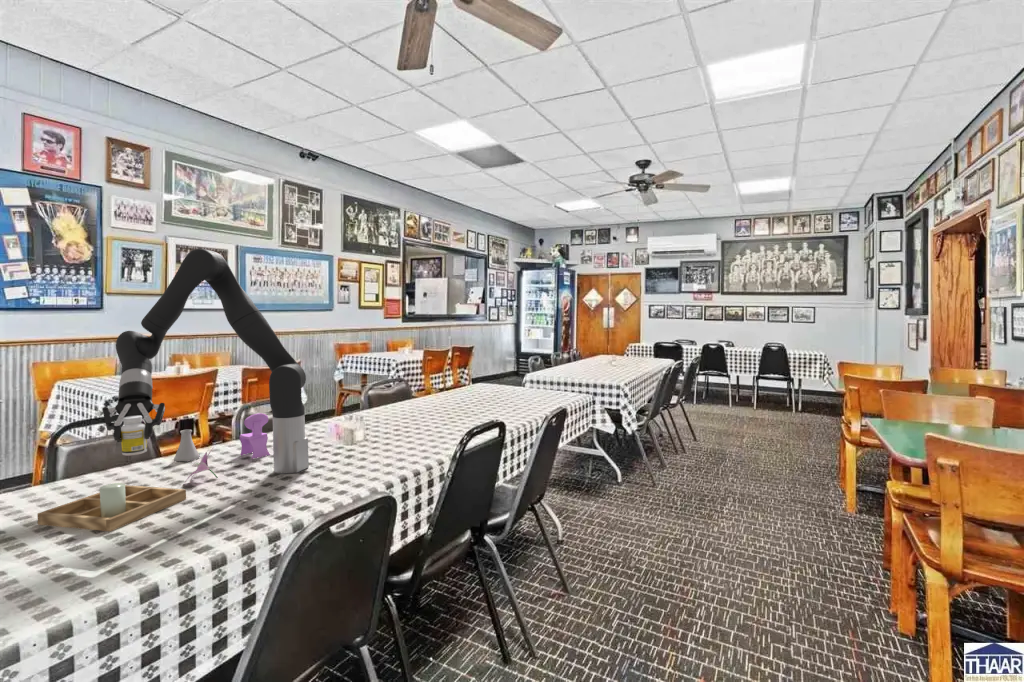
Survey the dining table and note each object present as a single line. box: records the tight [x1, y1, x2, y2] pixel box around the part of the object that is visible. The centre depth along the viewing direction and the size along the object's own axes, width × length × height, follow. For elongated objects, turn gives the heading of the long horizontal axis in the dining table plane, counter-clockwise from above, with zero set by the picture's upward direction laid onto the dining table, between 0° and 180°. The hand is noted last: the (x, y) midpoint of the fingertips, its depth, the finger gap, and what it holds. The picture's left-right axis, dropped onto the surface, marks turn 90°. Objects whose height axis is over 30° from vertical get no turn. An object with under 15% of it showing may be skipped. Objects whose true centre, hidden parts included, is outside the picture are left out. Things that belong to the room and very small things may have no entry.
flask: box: [173, 429, 201, 462], centre depth 168 cm, size 7×7×10 cm
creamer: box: [99, 482, 126, 518], centre depth 115 cm, size 5×5×8 cm
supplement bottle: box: [120, 415, 148, 456], centre depth 132 cm, size 5×5×10 cm
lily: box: [182, 446, 219, 486], centre depth 147 cm, size 12×12×10 cm
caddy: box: [37, 484, 187, 532], centre depth 121 cm, size 20×20×3 cm
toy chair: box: [239, 412, 271, 460], centre depth 173 cm, size 8×9×15 cm
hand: (133, 438), depth 131 cm, fingers closed on supplement bottle, 5 cm apart
